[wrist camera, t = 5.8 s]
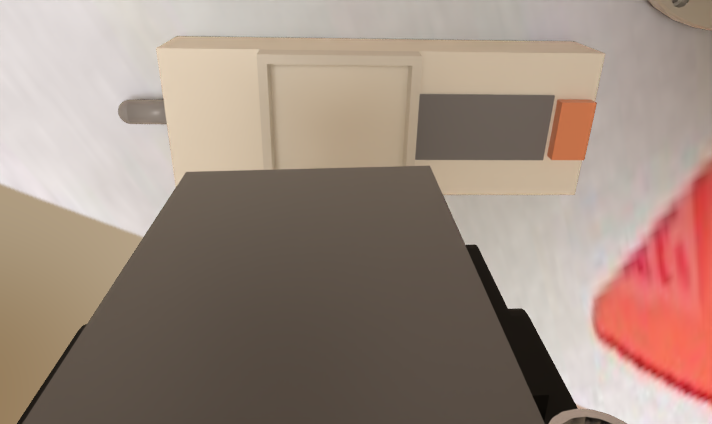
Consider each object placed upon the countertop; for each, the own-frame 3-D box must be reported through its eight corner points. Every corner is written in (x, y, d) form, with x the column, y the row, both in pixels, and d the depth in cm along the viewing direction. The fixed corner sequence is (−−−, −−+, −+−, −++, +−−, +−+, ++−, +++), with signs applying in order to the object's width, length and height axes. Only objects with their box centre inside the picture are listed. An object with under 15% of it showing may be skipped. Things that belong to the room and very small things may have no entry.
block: (429, 166, 11) (555, 447, 5) (419, 356, 13) (496, 718, 7) (186, 171, 11) (-10, 473, 5) (217, 363, 13) (113, 739, 7)
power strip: (574, 41, 27) (617, 58, 23) (549, 169, 30) (584, 204, 26) (115, 35, 26) (73, 52, 22) (138, 168, 30) (105, 204, 25)
